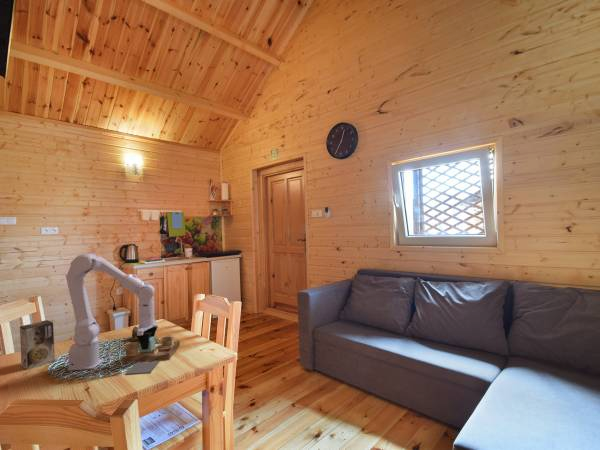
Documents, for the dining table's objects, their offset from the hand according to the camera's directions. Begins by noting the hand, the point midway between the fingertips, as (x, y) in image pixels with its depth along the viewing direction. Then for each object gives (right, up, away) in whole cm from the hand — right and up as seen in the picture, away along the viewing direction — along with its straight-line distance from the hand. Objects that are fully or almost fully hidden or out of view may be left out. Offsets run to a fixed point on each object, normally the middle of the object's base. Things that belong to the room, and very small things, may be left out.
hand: (147, 346), depth 127 cm
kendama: (-12, -5, +19) cm, 23 cm away
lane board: (0, -4, +3) cm, 5 cm away
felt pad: (+3, -4, -10) cm, 11 cm away
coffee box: (-43, -6, -3) cm, 43 cm away
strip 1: (-2, -3, 0) cm, 4 cm away
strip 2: (+2, -3, +7) cm, 8 cm away
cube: (0, -1, 0) cm, 1 cm away
